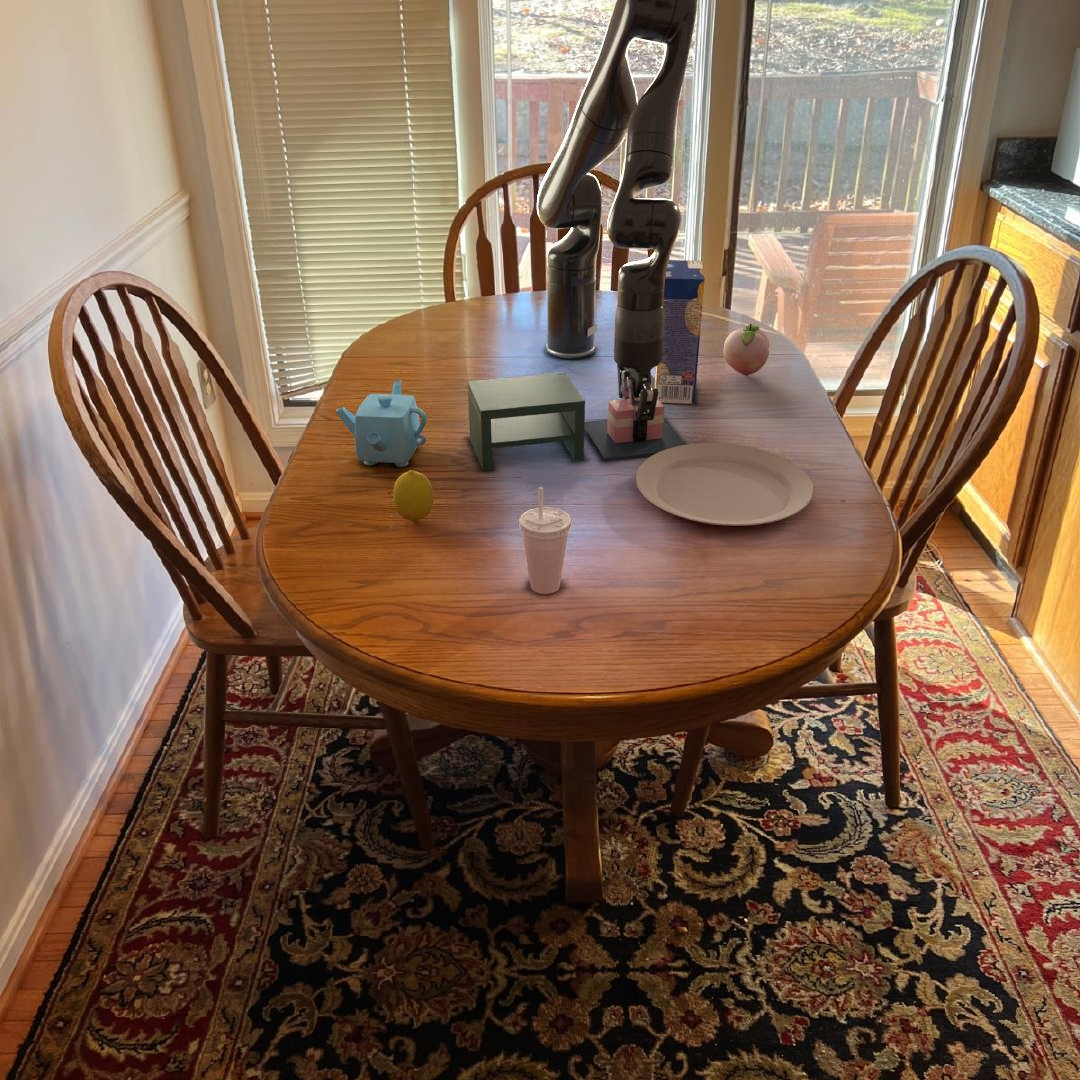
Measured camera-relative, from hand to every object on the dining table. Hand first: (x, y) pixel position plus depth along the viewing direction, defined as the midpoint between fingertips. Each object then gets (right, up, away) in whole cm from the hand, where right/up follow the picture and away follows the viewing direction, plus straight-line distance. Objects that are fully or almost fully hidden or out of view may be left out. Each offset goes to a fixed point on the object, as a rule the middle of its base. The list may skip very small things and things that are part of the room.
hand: (634, 433), depth 164 cm
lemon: (-33, -15, -23) cm, 43 cm away
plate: (+11, -11, -16) cm, 22 cm away
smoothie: (-15, -23, -37) cm, 46 cm away
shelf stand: (-18, -3, -3) cm, 18 cm away
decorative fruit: (+22, +13, +23) cm, 35 cm away
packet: (0, 0, 0) cm, 0 cm away
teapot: (-40, -4, -5) cm, 40 cm away
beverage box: (+9, +9, +17) cm, 21 cm away
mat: (0, -1, 0) cm, 1 cm away
